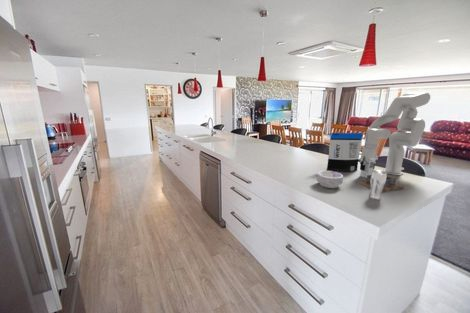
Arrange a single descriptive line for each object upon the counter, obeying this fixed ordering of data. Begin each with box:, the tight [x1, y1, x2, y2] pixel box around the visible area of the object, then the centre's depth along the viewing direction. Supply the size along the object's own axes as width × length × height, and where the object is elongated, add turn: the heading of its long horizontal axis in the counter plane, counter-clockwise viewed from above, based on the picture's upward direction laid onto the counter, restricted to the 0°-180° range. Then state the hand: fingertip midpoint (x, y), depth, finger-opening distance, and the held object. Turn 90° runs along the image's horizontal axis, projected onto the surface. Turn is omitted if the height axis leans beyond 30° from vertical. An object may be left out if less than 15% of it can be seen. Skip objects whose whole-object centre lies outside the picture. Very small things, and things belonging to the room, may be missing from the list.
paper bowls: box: [316, 170, 344, 189], centre depth 134 cm, size 15×15×8 cm
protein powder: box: [326, 132, 363, 173], centre depth 166 cm, size 10×24×30 cm, turn 90°
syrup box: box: [359, 158, 375, 179], centre depth 152 cm, size 6×6×14 cm
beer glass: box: [368, 169, 387, 201], centre depth 116 cm, size 7×7×15 cm
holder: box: [357, 175, 405, 193], centre depth 135 cm, size 20×16×6 cm
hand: (367, 169), depth 153 cm, fingers open, 9 cm apart
